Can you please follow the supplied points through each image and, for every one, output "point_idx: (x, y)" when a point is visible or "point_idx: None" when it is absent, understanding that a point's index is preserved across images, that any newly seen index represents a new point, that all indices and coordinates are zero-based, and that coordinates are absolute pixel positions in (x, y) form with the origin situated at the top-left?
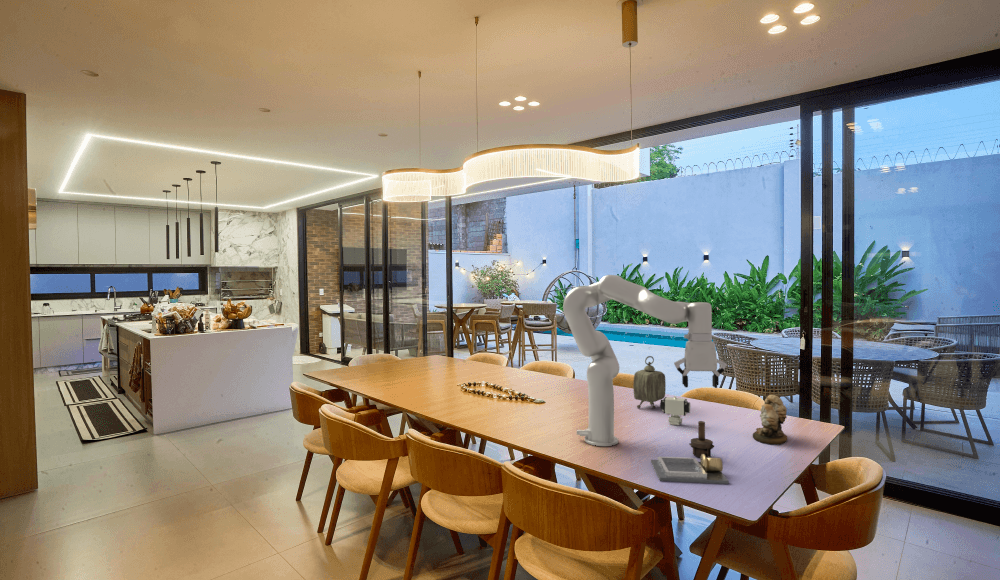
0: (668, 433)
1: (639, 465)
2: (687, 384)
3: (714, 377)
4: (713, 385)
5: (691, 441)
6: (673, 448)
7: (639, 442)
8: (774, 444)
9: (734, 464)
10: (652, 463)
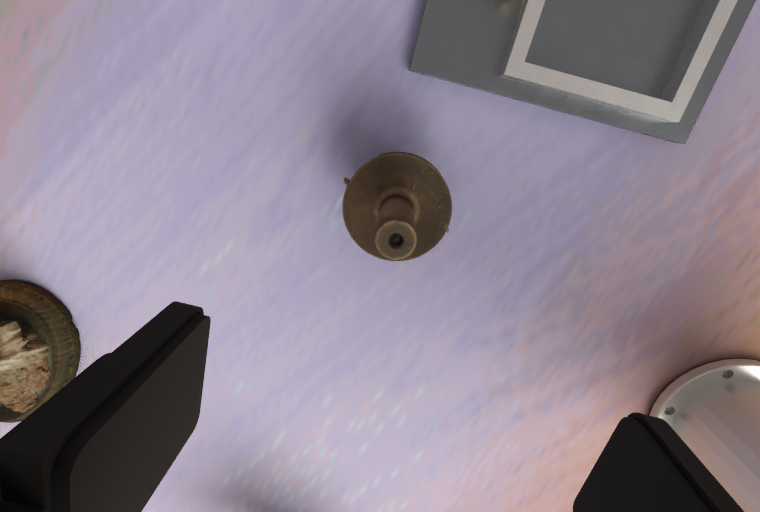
0: (389, 459)
1: (752, 114)
2: (667, 443)
3: (88, 469)
4: (194, 390)
5: (450, 215)
6: (466, 300)
7: (566, 385)
8: (23, 281)
9: (307, 68)
10: (704, 99)
